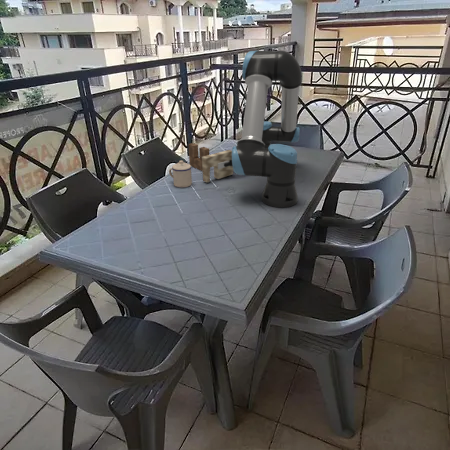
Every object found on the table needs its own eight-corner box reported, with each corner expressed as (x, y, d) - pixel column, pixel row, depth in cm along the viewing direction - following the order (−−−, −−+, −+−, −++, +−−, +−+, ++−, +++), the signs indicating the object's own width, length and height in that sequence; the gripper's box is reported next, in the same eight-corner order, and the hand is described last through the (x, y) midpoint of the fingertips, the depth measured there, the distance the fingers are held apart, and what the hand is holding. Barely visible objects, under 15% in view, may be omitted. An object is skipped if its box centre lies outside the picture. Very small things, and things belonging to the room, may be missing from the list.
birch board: (229, 172, 178) (229, 149, 172) (233, 174, 176) (233, 151, 170) (202, 180, 168) (201, 156, 162) (206, 182, 166) (205, 158, 160)
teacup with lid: (196, 182, 168) (194, 159, 162) (185, 189, 161) (183, 165, 155) (175, 178, 173) (173, 155, 167) (164, 184, 166) (162, 161, 160)
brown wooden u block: (209, 171, 182) (209, 148, 176) (205, 172, 180) (204, 149, 175) (194, 164, 191) (192, 143, 186) (189, 165, 190) (188, 144, 184)
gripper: (261, 166, 178) (226, 177, 164) (239, 158, 189) (205, 168, 175) (261, 151, 174) (226, 161, 161) (239, 145, 185) (205, 154, 172)
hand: (215, 165), depth 168 cm, fingers closed on birch board, 3 cm apart
